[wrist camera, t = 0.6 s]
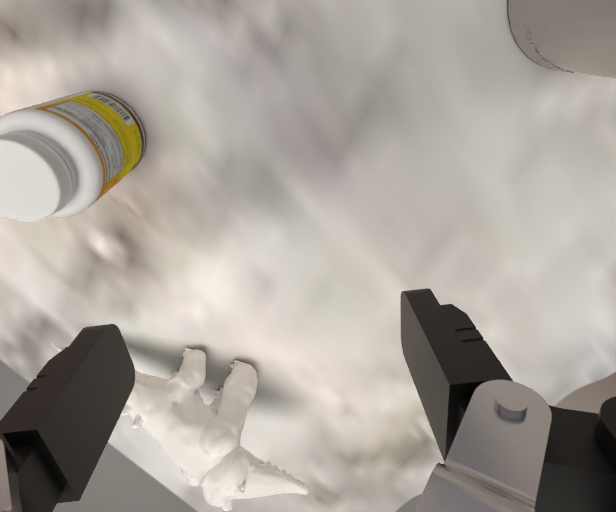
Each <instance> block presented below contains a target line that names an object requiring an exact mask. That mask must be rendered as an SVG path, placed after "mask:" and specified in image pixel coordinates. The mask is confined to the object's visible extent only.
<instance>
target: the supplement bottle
mask: <svg viewBox="0 0 616 512" xmlns="http://www.w3.org/2000/svg"><path fill="white" fill-rule="evenodd" d="M144 149H145V136H144V132H143V128H142V126H141V123H140V121H139V120H138V118H137V116H136V115H135V114H134V112H133V111H132V110H131V109H130V108H129V107H128V106H127V105H126V104H125V103H123V102H122V101H121V100H119V99H117V98H116V97H114V96H111V95H109V94H106V93H102V92H96V91H87V92H81V93H77V94H73V95H70V96H66V97H63V98H59V99H55V100H52V101H49V102H45V103H42V104H38V105H34V106H31V107H27V108H23V109H20V110H16V111H13V112H10V113H8V114H5V115H3V116H2V117H0V214H1V215H3V216H5V217H7V218H10V219H13V220H16V221H22V222H36V221H40V220H43V219H46V218H48V217H56V218H59V217H69V216H73V215H76V214H78V213H80V212H82V211H84V210H85V209H87V208H88V207H90V206H91V205H92V204H93V203H94V202H95V201H97V200H98V199H99V198H100V197H101V196H102V195H104V194H105V193H106V192H107V191H108V190H109V189H110V188H112V187H113V186H114V185H115V184H116V183H118V182H119V181H120V180H121V179H122V178H123V177H124V176H126V175H127V174H128V173H129V172H130V171H132V169H133V168H135V167H136V166H137V164H138V163H139V162H140V160H141V158H142V156H143V153H144Z"/></svg>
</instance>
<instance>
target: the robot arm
mask: <svg viewBox="0 0 616 512" xmlns="http://www.w3.org/2000/svg"><path fill="white" fill-rule="evenodd" d="M508 15H509V20H510V26H511V31H512V33H513V35H514V37H515V40H516V42H517V44H518V46H519V47H520V48H521V49H522V51H523V52H524V53H525V54H526V56H527V57H529V58H530V59H532V60H533V61H534V62H536V63H537V64H539V65H542V66H545V67H548V68H551V69H557V70H562V71H566V72H572V73H574V72H578V73H585V74H591V75H598V76H605V77H612V78H616V0H508ZM401 342H402V349H403V353H404V357H405V360H406V363H407V365H408V368H409V371H410V373H411V376H412V378H413V381H414V384H415V386H416V389H417V391H418V394H419V397H420V399H421V402H422V405H423V407H424V410H425V412H426V415H427V418H428V420H429V423H430V426H431V428H432V431H433V433H434V436H435V439H436V441H437V444H438V446H439V449H440V452H441V454H442V457H443V460H444V464H440V463H438V464H437V465H436V466H435V468H434V469H433V471H432V473H431V475H430V478H429V480H428V482H427V484H426V487H425V489H424V491H423V494H422V496H421V498H420V501H419V503H418V505H417V508H416V510H415V512H616V397H613V398H610V399H608V400H606V401H605V402H604V403H603V404H602V406H601V409H600V412H599V414H596V413H590V412H582V411H575V410H568V409H561V408H556V407H553V406H550V405H548V404H547V402H546V401H545V400H544V399H543V398H542V397H541V396H540V395H539V394H538V393H537V392H536V391H534V390H532V389H531V388H529V387H527V386H525V385H523V384H520V383H517V382H513V380H512V379H511V377H510V376H509V374H508V373H507V372H506V370H505V369H504V367H503V366H502V364H501V363H500V361H499V360H498V359H497V357H496V356H495V354H494V353H493V351H492V350H491V348H490V347H489V346H488V344H487V343H486V341H484V340H483V337H482V335H481V334H480V333H479V331H478V330H476V327H475V325H474V324H473V322H472V321H471V320H470V318H469V317H468V315H467V314H466V313H464V312H463V311H461V310H460V309H458V308H457V307H455V306H454V305H452V304H447V305H440V304H439V303H438V301H437V299H436V298H435V296H434V294H433V293H432V291H431V290H430V289H429V288H428V289H419V290H410V291H402V293H401ZM134 383H135V369H134V365H133V362H132V360H131V357H130V355H129V352H128V350H127V347H126V345H125V342H124V340H123V337H122V335H121V332H120V330H119V328H118V327H117V326H116V325H114V324H109V325H100V326H91V327H85V328H83V329H82V330H81V332H80V333H79V334H78V336H77V337H76V338H75V339H74V341H73V342H72V343H71V345H70V346H69V347H66V348H65V349H63V350H62V351H61V352H60V353H58V354H57V355H56V356H54V357H53V358H52V359H51V360H49V361H48V362H47V364H46V365H45V366H44V367H43V369H42V370H41V371H40V372H39V374H38V375H37V379H34V380H33V381H32V382H31V383H30V385H29V386H28V387H27V391H26V392H23V393H22V395H21V396H20V397H19V398H18V400H17V401H16V402H15V403H14V405H13V406H12V407H11V408H10V410H9V411H8V412H7V413H6V415H5V416H4V417H3V419H2V420H1V421H0V512H52V511H53V509H54V508H55V506H56V504H57V503H62V502H72V501H79V500H80V498H81V496H82V494H83V492H84V490H85V488H86V486H87V483H88V481H89V479H90V477H91V475H92V473H93V471H94V469H95V467H96V465H97V463H98V460H99V458H100V456H101V454H102V452H103V450H104V448H105V446H106V444H107V442H108V440H109V438H110V436H111V433H112V431H113V429H114V427H115V425H116V423H117V421H118V419H119V417H120V415H121V413H122V411H123V408H124V406H125V404H126V402H127V400H128V398H129V396H130V394H131V392H132V390H133V387H134Z"/></svg>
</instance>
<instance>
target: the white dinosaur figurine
mask: <svg viewBox="0 0 616 512" xmlns="http://www.w3.org/2000/svg"><path fill="white" fill-rule="evenodd" d="M51 344H52V345H53V346H54V347H55V348H56V349H57V350H58V351H60V352H61V351H62V350H63V349H65V347H61V346H58V345H55V344H53V343H51ZM182 356H183V358H184V360H183V363H182V365H181V367H180V369H179V372H178V371H174V373H172V376H171V377H170V378H171V379H170V380H167V379H163V378H160V377H156V376H151V375H147V374H142V373H140V372H137V371H136V370H135V383H134V387H133V390H132V392H131V394H130V396H129V398H128V400H127V402H126V404H125V406H124V408H123V411H122V413H121V415H120V416H124V415H129V416H130V417H131V418H132V420H133V421H134V423H133V425H132V428H133V429H137V428H138V427H140V426H141V427H142V428H143V430H144V431H145V432H146V433H147V434H149V435H150V436H151V437H152V438H154V439H155V440H156V441H157V442H158V444H159V447H160V449H161V451H162V452H163V453H164V454H165V455H166V456H167V457H168V458H169V459H170V460H171V461H172V462H173V463H174V464H175V465H176V466H178V467H180V468H181V473H182V475H183V476H184V477H186V478H187V481H188V483H189V485H191V486H198V485H200V486H202V493H203V495H204V498H205V500H206V502H207V503H208V504H210V505H212V506H218V507H222V509H223V510H224V511H229V510H231V509H232V507H233V504H234V499H248V498H256V497H264V496H269V495H274V494H281V493H299V494H302V495H307V493H308V492H309V489H308V488H309V487H308V485H307V484H305V483H304V482H302V481H300V480H298V479H296V478H294V477H292V475H291V474H290V473H288V474H286V470H282V471H281V470H279V469H278V468H277V466H274V467H273V466H271V462H270V461H268V462H267V463H266V462H264V461H262V460H260V459H258V458H256V457H255V456H253V455H252V454H251V453H250V452H249V451H247V450H245V449H244V448H243V447H242V446H240V437H241V432H242V430H243V426H244V423H245V418H246V414H247V410H248V409H249V407H250V406H251V403H252V401H253V399H254V397H255V394H256V390H257V385H258V379H257V373H256V371H255V369H254V368H253V367H252V366H251V365H249V364H247V363H243V362H240V361H237V360H234V363H235V364H229V365H230V367H231V368H232V372H231V374H230V375H229V376H228V377H227V378H226V380H225V383H224V386H223V388H222V387H221V388H220V390H219V391H213V392H214V393H215V394H216V395H213V396H212V397H213V398H214V399H215V400H214V401H212V403H211V405H207V404H204V403H203V400H202V398H201V396H200V394H199V390H198V389H199V388H200V387H201V386H202V385H203V384H204V382H205V377H206V354H205V353H204V352H203V351H201V350H198V349H194V350H192V349H189V348H185V351H183V354H182Z"/></svg>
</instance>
